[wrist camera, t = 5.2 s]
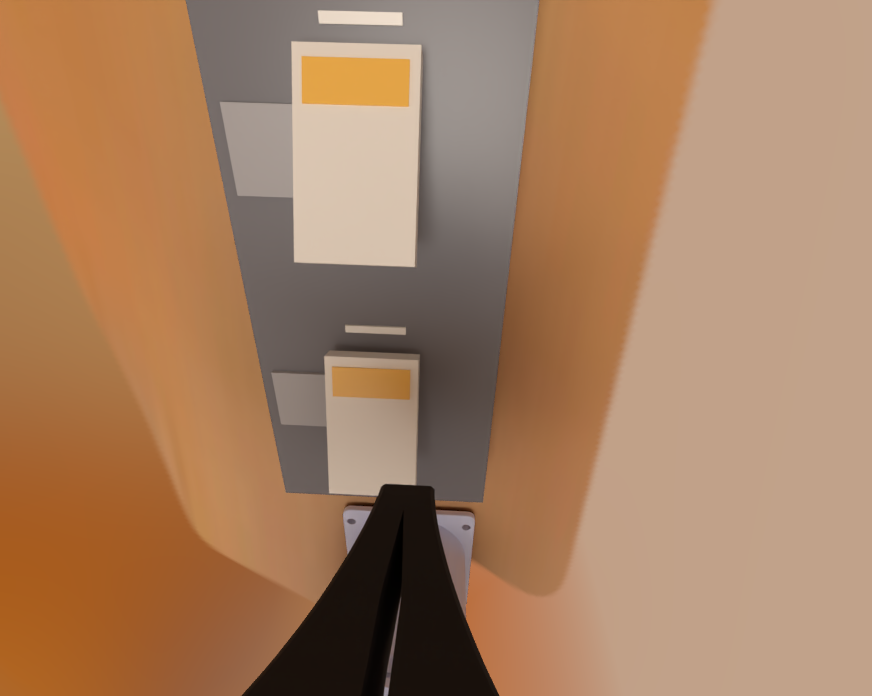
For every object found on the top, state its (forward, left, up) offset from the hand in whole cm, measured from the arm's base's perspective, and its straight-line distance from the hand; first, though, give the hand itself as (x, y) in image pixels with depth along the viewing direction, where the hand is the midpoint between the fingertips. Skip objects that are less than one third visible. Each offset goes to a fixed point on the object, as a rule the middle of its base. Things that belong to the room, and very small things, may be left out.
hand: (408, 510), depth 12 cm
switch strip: (+3, +2, -10) cm, 11 cm away
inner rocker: (-2, +2, -6) cm, 6 cm away
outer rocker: (+8, +2, -6) cm, 10 cm away
